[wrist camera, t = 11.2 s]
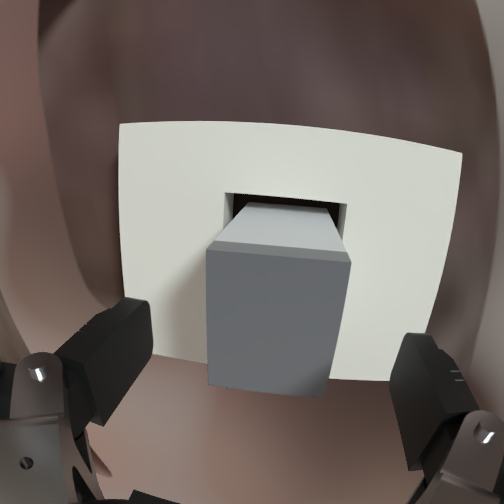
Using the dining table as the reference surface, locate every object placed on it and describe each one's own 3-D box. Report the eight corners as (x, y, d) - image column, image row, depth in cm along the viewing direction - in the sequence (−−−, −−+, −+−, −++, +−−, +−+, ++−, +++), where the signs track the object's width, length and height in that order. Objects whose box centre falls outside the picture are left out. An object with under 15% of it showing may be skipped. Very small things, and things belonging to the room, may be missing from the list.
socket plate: (443, 152, 16) (462, 153, 13) (398, 358, 20) (406, 380, 18) (140, 125, 18) (119, 123, 15) (146, 330, 22) (132, 349, 20)
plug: (326, 208, 18) (351, 262, 9) (316, 295, 20) (324, 397, 11) (248, 201, 18) (205, 249, 10) (244, 289, 20) (208, 384, 12)
